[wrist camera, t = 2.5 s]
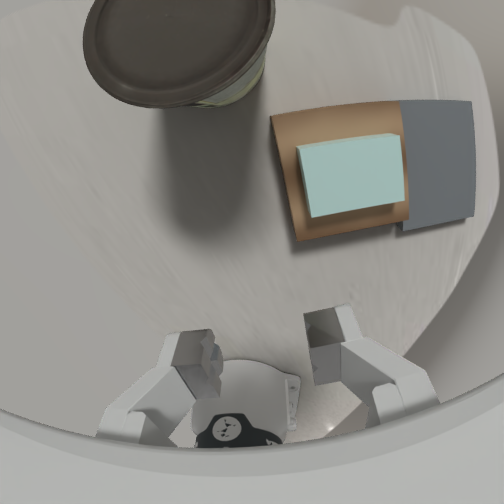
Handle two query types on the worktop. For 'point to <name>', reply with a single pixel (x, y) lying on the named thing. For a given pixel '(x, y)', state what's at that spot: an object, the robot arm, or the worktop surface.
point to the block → (352, 173)
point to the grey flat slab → (439, 161)
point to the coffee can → (177, 50)
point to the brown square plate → (326, 129)
